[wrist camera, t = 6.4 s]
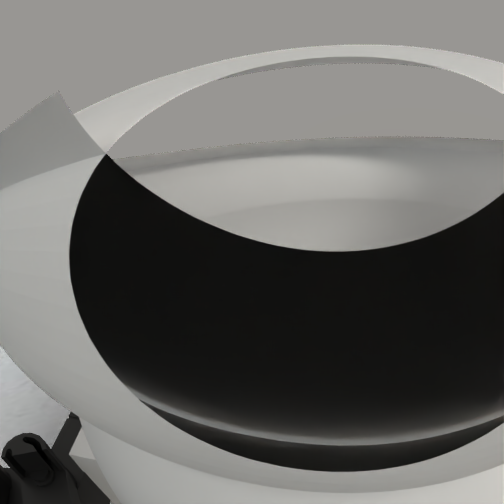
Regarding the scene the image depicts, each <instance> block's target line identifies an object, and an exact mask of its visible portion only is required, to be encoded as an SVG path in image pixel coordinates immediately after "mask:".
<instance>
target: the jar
mask: <svg viewBox="0 0 504 504" xmlns="http://www.w3.org/2000/svg"><path fill="white" fill-rule="evenodd" d="M347 63H379V64H381V63H382V64H401V65H413V66H423V67H432V68H439V69H446V70H449V71H453V72H456V73H459V74H462V75H465V76H468V77H470V78H472V79H475V80H477V81H479V82H481V83H483V84H485V85H487V86H489V87H491V88H493V89H495V90H497V91H498V92H500V93H502V94H504V63H500V62H497V61H494V60H490V59H486V58H481V57H477V56H472V55H468V54H462V53H457V52H451V51H445V50H437V49H431V48H422V47H412V46H399V45H373V44H372V45H371V44H350V45H326V46H313V47H301V48H292V49H284V50H277V51H269V52H263V53H257V54H251V55H246V56H241V57H236V58H231V59H226V60H222V61H217V62H213V63H209V64H205V65H201V66H198V67H194V68H190V69H187V70H183V71H180V72H176V73H173V74H170V75H167V76H163V77H161V78H157V79H154V80H152V81H149V82H146V83H143V84H140V85H138V86H135V87H133V88H130V89H127V90H125V91H122V92H120V93H117V94H115V95H113V96H111V97H108V98H106V99H103V100H101V101H99V102H97V103H95V104H93V105H91V106H88V107H86V108H84V109H82V110H80V111H78V112H77V113H75V114H73V113H72V112H71V110H70V109H69V107H68V106H67V104H66V102H65V101H64V99H63V97H62V96H61V94H60V92H59V91H58V92H56V93H55V94H53V95H51V96H50V97H48V98H47V99H45V100H44V101H42V102H41V103H39V104H38V105H36V106H35V107H34V108H32V109H31V110H29V111H28V112H27V113H25V114H24V115H22V116H21V117H20V118H19V119H17V120H16V121H15V122H14V123H12V124H11V125H10V126H9V127H7V128H6V129H5V130H4V131H2V132H1V133H0V345H1V346H2V348H3V349H4V350H5V352H6V353H7V354H8V355H9V356H10V358H11V359H12V360H13V361H14V362H15V364H16V365H17V366H18V367H19V368H20V369H21V370H22V371H23V372H24V373H25V374H26V375H27V376H28V377H29V378H30V379H31V380H32V381H33V382H34V383H35V384H36V385H37V386H39V387H40V388H41V389H42V390H43V391H44V392H45V393H47V394H48V395H49V396H50V397H52V398H53V399H54V400H56V401H57V402H58V403H60V404H61V405H62V406H64V407H65V408H67V409H68V410H70V411H71V412H73V413H74V414H76V415H77V416H79V419H80V422H81V425H82V428H83V431H84V433H85V436H86V439H87V441H88V444H89V446H90V448H91V450H92V453H93V455H94V457H95V459H96V461H97V463H98V465H99V467H100V469H101V471H102V473H103V475H104V477H105V478H106V480H107V482H108V484H109V485H110V487H111V489H112V490H113V492H114V493H115V495H116V496H117V498H118V499H119V501H120V502H121V504H504V140H488V139H487V140H486V139H468V138H444V137H350V138H349V137H346V138H321V139H301V140H286V141H272V142H260V143H248V144H237V145H227V146H217V147H208V148H199V149H190V150H182V151H174V152H166V153H158V154H151V155H143V156H136V157H128V158H121V159H113V160H112V159H111V158H110V157H109V156H108V155H107V154H106V153H107V152H108V150H109V149H110V148H111V147H112V146H113V144H114V143H115V142H116V141H117V140H118V139H119V138H120V137H121V136H122V135H123V134H125V133H126V132H127V131H128V130H129V129H130V128H131V127H132V126H134V125H135V124H136V123H137V122H138V121H140V120H141V119H142V118H143V117H144V116H146V115H147V114H149V113H150V112H152V111H154V110H155V109H157V108H158V107H160V106H161V105H163V104H165V103H167V102H168V101H170V100H172V99H174V98H175V97H177V96H179V95H181V94H183V93H185V92H187V91H189V90H191V89H193V88H196V87H198V86H201V85H203V84H206V83H208V82H211V81H215V80H220V79H224V78H229V77H234V76H238V75H244V74H249V73H255V72H261V71H268V70H275V69H283V68H291V67H300V66H311V65H325V64H347Z"/></svg>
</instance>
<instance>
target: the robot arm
mask: <svg viewBox="0 0 504 504" xmlns="http://www.w3.org/2000/svg"><path fill="white" fill-rule="evenodd" d="M1 458H2V459H3V460H4V461H5V462H6V463H7V464H8V466H9V467H10V468H3V467H2V466H1V465H0V504H110V501H111V502H112V503H113V504H121V502H120V501H119V499H118V498H117V496H116V495H115V493H114V492H113V490H112V489H111V487H110V485H109V484H108V482H107V480H106V478H105V477H104V475H103V473H102V471H101V469H100V467H99V465H98V463H97V461H96V459H95V457H94V455H93V453H92V450H91V448H90V446H89V444H88V441H87V439H86V436H85V433H84V431H83V428H82V425H81V422H80V419H79V416H77V415H76V414H74V413H73V412H71V413H70V415H69V419H68V418H67V420H66V422H65V424H64V426H63V428H62V429H61V431H60V433H59V435H58V437H57V439H56V441H55V443H54V445H53V447H52V449H50V447H49V446H48V445H47V444H46V442H45V441H44V440H43V439H42V438H41V437H40V436H39V435H36V434H33V433H23V434H20V435H17V436H15V437H14V438H12V439H11V440H10V441H9V442H8V443H7V444H6V446H5V447H4V449H3V451H2V456H1Z"/></svg>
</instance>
